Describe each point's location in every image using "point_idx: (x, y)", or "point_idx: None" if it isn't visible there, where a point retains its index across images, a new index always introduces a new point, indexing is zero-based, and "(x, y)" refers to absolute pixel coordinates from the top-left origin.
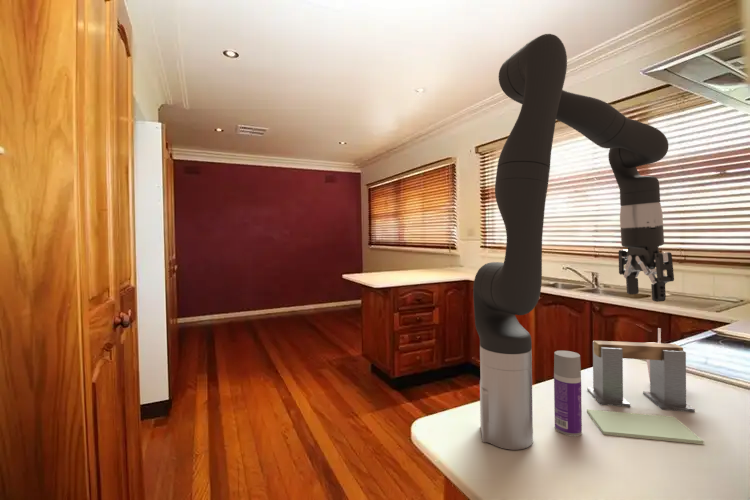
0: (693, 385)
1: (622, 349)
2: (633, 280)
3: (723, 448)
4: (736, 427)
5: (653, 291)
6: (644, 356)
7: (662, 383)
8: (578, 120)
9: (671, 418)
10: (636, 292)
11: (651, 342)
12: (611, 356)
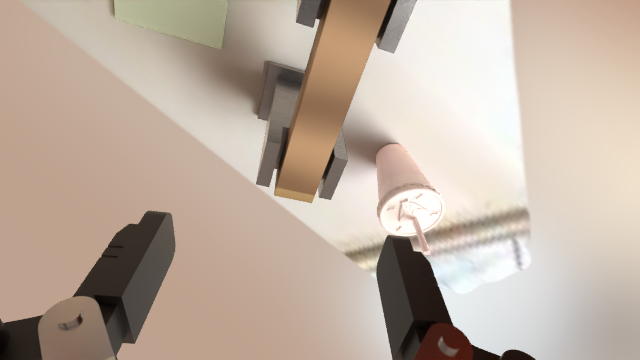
0: (367, 202)
1: (296, 22)
2: (397, 329)
3: (111, 43)
4: (201, 133)
5: (123, 250)
6: (299, 95)
7: (282, 97)
8: None
9: (210, 36)
10: (379, 268)
11: (439, 217)
12: None
